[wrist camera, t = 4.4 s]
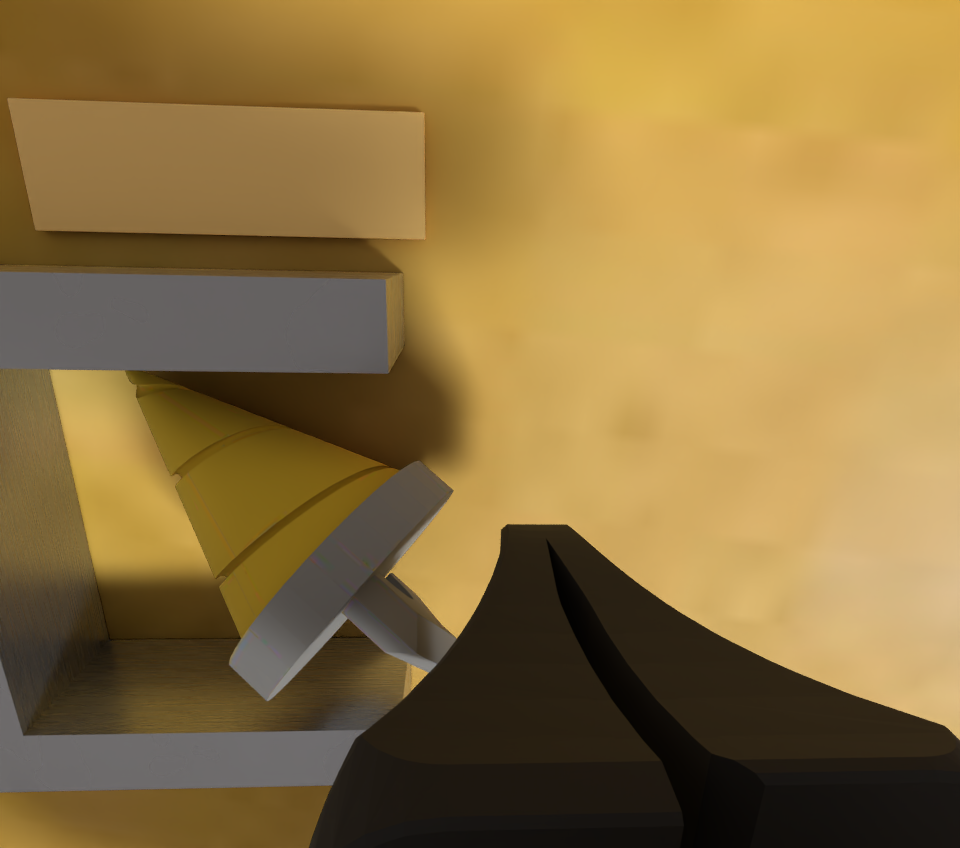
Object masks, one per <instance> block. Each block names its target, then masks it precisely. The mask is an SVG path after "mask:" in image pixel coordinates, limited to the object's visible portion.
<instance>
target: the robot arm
mask: <svg viewBox="0 0 960 848" xmlns="http://www.w3.org/2000/svg"><path fill="white" fill-rule="evenodd" d="M309 848H960V740H959V739H958V738H957V737H956V736H955V735H954V734H953V733H952V732H951V731H950V730H949V729H948V728H946V727H945V726H943V725H940V724H937V723H934V722H931V721H928V720H925V719H922V718H919V717H916V716H913V715H910V714H907V713H904V712H901V711H898V710H895V709H892V708H889V707H887V706H884V705H881V704H878V703H875V702H872V701H869V700H866V699H863V698H860V697H857V696H854V695H851V694H849V693H846V692H843V691H841V690H838V689H836V688H833V687H831V686H828V685H826V684H823V683H821V682H818V681H816V680H813V679H811V678H808V677H806V676H803V675H801V674H798V673H796V672H794V671H792V670H789V669H787V668H785V667H783V666H780V665H778V664H776V663H774V662H771V661H769V660H767V659H765V658H763V657H761V656H759V655H757V654H755V653H753V652H751V651H749V650H747V649H745V648H743V647H741V646H739V645H737V644H735V643H733V642H731V641H729V640H727V639H725V638H723V637H721V636H719V635H718V634H716V633H714V632H712V631H710V630H709V629H707V628H705V627H704V626H702V625H700V624H699V623H697V622H695V621H694V620H692V619H690V618H688V617H687V616H685V615H683V614H682V613H680V612H679V611H677V610H675V609H674V608H672V607H671V606H669V605H668V604H666V603H665V602H663V601H662V600H660V599H659V598H658V597H656V596H655V595H653V594H652V593H651V592H649V591H648V590H646V589H645V588H644V587H642V586H641V585H639V584H638V583H637V582H636V581H634V580H633V579H632V578H630V577H629V576H628V575H626V574H625V573H624V572H623V571H621V570H620V569H619V568H618V567H617V566H615V565H614V564H613V563H612V562H610V561H609V560H608V559H607V558H606V557H605V556H603V555H602V554H601V553H600V552H599V551H598V550H596V549H595V548H594V547H593V546H592V545H591V544H589V543H588V542H587V541H586V540H585V539H584V538H583V537H581V536H580V535H579V534H578V533H577V532H576V531H574V530H573V529H572V528H571V527H569V526H568V525H512V524H507V525H506V526H505V527H504V528H503V529H501V548H500V555H499V558H498V561H497V564H496V567H495V570H494V573H493V575H492V578H491V580H490V582H489V584H488V587H487V589H486V591H485V593H484V595H483V597H482V599H481V601H480V603H479V605H478V607H477V608H476V610H475V612H474V614H473V615H472V617H471V619H470V620H469V622H468V623H467V625H466V626H465V628H464V630H463V631H462V633H461V634H460V635H459V637H458V638H457V639H456V641H455V642H454V643H453V645H452V646H451V647H450V649H449V650H448V651H447V653H446V654H445V655H444V656H443V658H442V659H441V660H440V661H439V662H438V664H437V665H436V666H435V667H434V668H433V669H432V670H431V671H430V672H429V673H428V674H427V675H426V676H425V677H424V679H423V680H422V681H421V682H420V683H419V684H418V685H417V686H416V687H415V688H414V689H413V690H412V691H411V692H410V693H409V694H408V695H407V696H406V697H405V698H404V699H403V700H402V701H401V702H400V703H398V704H397V705H396V706H395V707H394V708H393V709H391V710H390V711H389V712H388V713H387V714H385V715H384V716H383V717H382V718H380V719H379V720H378V721H377V722H376V723H374V724H373V725H372V726H371V727H370V728H368V729H367V730H366V731H365V732H363V733H362V734H360V735H359V736H358V737H357V738H355V740H354V742H353V744H352V746H351V748H350V750H349V752H348V754H347V756H346V758H345V760H344V762H343V764H342V766H341V768H340V770H339V772H338V774H337V776H336V779H335V781H334V783H333V785H332V788H331V790H330V792H329V794H328V797H327V799H326V801H325V804H324V807H323V809H322V812H321V814H320V817H319V820H318V823H317V825H316V828H315V831H314V834H313V836H312V839H311V843H310V846H309Z"/></svg>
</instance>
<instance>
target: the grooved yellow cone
mask: <svg viewBox="0 0 960 848" xmlns="http://www.w3.org/2000/svg"><path fill="white" fill-rule="evenodd" d="M126 374H127V376H128V379H129V381H130V382H131V383H132V384H136V385H137V390H136V398H137V400H138V402H139V404H140V407H141V409H142V411H143V414H144V416H145V418H146V421H147V423H148V425H149V427H150V430H151V432H152V434H153V437H154V439H155V441H156V444H157V446H158V448H159V450H160V453H161V455H162V457H163V460H164V462H165V464H166V467H167V469H168V471H169V473H170V476H173V475H174V474H179V475H180V476H181V477H182V479H181V480H180V481H179V482H178V483H177V484H176V486H175V487H176V490H177V492H178V494H179V497H180V499H181V501H182V503H183V506H184V508H185V510H186V513H187V515H188V517H189V520H190V522H191V524H192V526H193V529H194V531H195V533H196V536H197V538H198V540H199V543H200V545H201V547H202V549H203V552H204V554H205V556H206V559H207V561H208V563H209V566H210V568H211V570H212V572H213V575H214V577H215V579H217V578H218V577H220V576H225V577H227V578H226V579H225V581H224V582H223V583H222V584H221V585H220V587H219V589H220V591H221V593H222V596H223V598H224V600H225V602H226V605H227V607H228V609H229V612H230V614H231V616H232V619H233V621H234V623H235V625H236V628H237V630H238V632H239V635H240V637H241V640H240V642H239V643H238V645H237V646H236V648H235V650H234V652H233V654H232V655H231V657H230V661H229V665H230V666H231V667H232V668H233V669H234V670H235V671H236V672H237V673H238V674H239V675H240V676H241V677H242V678H243V679H244V680H245V681H246V682H247V683H248V684H249V685H250V686H252V687H253V688H254V689H255V690H256V691H257V692H258V693H259V694H260V695H261V696H262V697H263V698H264V699H265V700H266V701H269V700H270V699H272V698H273V697H274V696H275V695H276V694H277V693H278V692H279V691H280V690H281V689H282V688H283V687H284V686H285V685H286V684H287V683H288V682H289V681H290V680H291V679H292V678H293V677H294V676H295V675H296V674H297V673H298V672H299V671H300V670H301V669H302V668H303V667H304V666H305V665H306V664H307V663H308V662H309V661H310V659H311V658H312V657H313V656H314V655H315V654H316V653H317V652H318V651H319V650H320V649H321V648H322V647H323V645H324V644H325V643H326V642H327V641H328V640H329V639H330V638H331V637H332V636H333V635H334V633H335V632H336V631H337V630H338V629H339V628H340V627H341V626H342V625H343V623H344V622H345V621H346V620H347V619H349V620H350V621H351V622H352V623H353V624H354V625H355V626H357V627H358V628H359V629H360V630H361V631H362V632H363V633H364V634H365V635H366V636H367V637H369V638H370V639H371V640H372V641H373V642H374V643H375V644H376V645H377V646H378V647H379V648H380V649H382V650H383V651H384V652H385V653H387V654H389V655H392V656H394V657H396V658H398V659H400V660H403V661H405V662H407V663H409V664H411V665H414V666H416V667H418V668H420V669H422V670H425V671H427V672H430V671H431V670H432V669H433V668H434V667H435V666H436V665H437V664H438V662H439V661H440V660H441V659H442V658H443V656H444V655H445V654H446V653H447V651H448V650H449V649H450V647H451V646H452V645H453V643H454V642H455V641H456V637H455V636H453V635H452V634H451V633H450V632H449V631H448V630H447V629H446V628H445V627H443V626H442V625H441V624H440V622H439V621H438V620H437V619H436V618H435V616H434V615H433V614H432V613H431V611H430V610H429V609H428V608H427V607H426V605H425V604H424V603H423V602H422V601H421V599H420V598H419V597H418V596H417V595H416V594H415V593H414V592H413V591H412V590H411V589H410V588H408V587H407V586H406V585H405V584H404V583H403V582H402V581H401V580H400V579H398V578H397V577H396V576H395V575H394V574H393V573H390V574H389V575H388V576H387V577H386V578H384V577H385V576H386V575H387V573H388V572H389V571H390V570H391V569H392V568H393V567H394V565H395V564H396V563H397V562H398V561H399V559H400V558H401V557H402V556H403V555H404V554H405V552H406V551H407V550H408V549H409V548H410V546H411V545H412V544H413V543H414V542H415V540H416V539H417V538H418V537H419V536H420V534H421V533H422V532H423V531H424V530H425V528H426V527H427V526H428V525H429V523H430V522H431V521H432V520H433V518H434V517H435V516H436V515H437V513H438V512H439V511H440V510H441V508H442V507H443V506H444V504H445V503H446V502H447V500H448V499H449V497H450V496H451V494H452V492H453V490H452V489H451V488H450V487H449V486H448V485H447V484H446V483H444V482H443V481H442V480H441V479H440V478H439V477H437V476H436V475H435V474H434V473H433V472H432V471H431V470H429V469H428V468H427V467H426V466H425V465H424V464H423V463H421V462H420V461H415V462H413V463H411V464H409V465H407V466H406V467H404V468H403V469H401V470H398V469H394V468H392V467H390V466H387V465H385V464H382V463H380V462H377V461H374V460H372V459H369V458H367V457H364V456H361V455H359V454H356V453H354V452H351V451H349V450H346V449H343V448H341V447H338V446H336V445H333V444H331V443H328V442H325V441H323V440H320V439H318V438H315V437H312V436H310V435H307V434H305V433H302V432H300V431H297V430H293V429H291V428H289V427H287V426H284V425H281V424H279V423H276V422H274V421H271V420H269V419H266V418H263V417H261V416H258V415H256V414H253V413H250V412H248V411H245V410H243V409H240V408H238V407H235V406H232V405H230V404H227V403H225V402H222V401H220V400H217V399H214V398H212V397H209V396H207V395H204V394H201V393H199V392H196V391H192V390H191V389H188V388H186V387H183V386H181V385H178V384H176V383H173V382H170V381H168V380H165V379H163V378H160V377H158V376H155V375H152V374H150V373H147V372H144V371H140V370H126Z"/></svg>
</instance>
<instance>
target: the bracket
mask: <svg viewBox="0 0 960 848" xmlns="http://www.w3.org/2000/svg"><path fill="white" fill-rule="evenodd" d="M403 347H404V297H403V273H385V272H338V271H290V270H243V269H195V268H148V267H100V266H52V265H5V264H0V792H43V791H91V790H138V789H186V788H233V787H281V786H328V785H333V783H334V781H335V779H336V776H337V774H338V772H339V770H340V768H341V766H342V764H343V762H344V760H345V758H346V756H347V754H348V752H349V750H350V748H351V746H352V744H353V742H354V740H355V738H357V737H358V736H359V735H360V734H362V733H363V732H365V731H366V730H367V729H368V728H370V727H371V726H372V725H373V724H374V723H376V722H377V721H378V720H379V719H380V718H382V717H383V716H384V715H385V714H387V713H388V712H389V711H390V710H391V709H393V708H394V707H395V706H396V705H397V704H398V703H400V702H401V701H402V700H403V699H404V698H405V697H406V696H407V695H408V694H409V693H410V692H411V664H409V663H407V662H405V661H403V660H400V659H398V658H396V657H394V656H392V655H389V654H387V653H385V652H384V651H383V650H382V649H380V648H379V647H378V646H377V645H376V644H375V643H374V642H373V641H372V640H371V639H370V638H330V639H329V640H328V641H327V642H326V643H325V644H324V645H323V647H322V648H321V649H320V650H319V651H318V652H317V653H316V654H315V655H314V656H313V657H312V658H311V659H310V661H309V662H308V663H307V664H306V665H305V666H304V667H303V668H302V669H301V670H300V671H299V672H298V673H297V674H296V675H295V676H294V677H293V678H292V679H291V680H290V681H289V682H288V683H287V684H286V685H285V686H284V687H283V688H282V689H281V690H280V691H279V692H278V693H277V694H276V695H275V696H274V697H273V698H272V699H270V700H269V701H266V700H265V699H264V698H263V697H262V696H261V695H260V694H259V693H258V692H257V691H256V690H255V689H254V688H253V687H252V686H250V685H249V684H248V683H247V682H246V681H245V680H244V679H243V678H242V677H241V676H240V675H239V674H238V673H237V672H236V671H235V670H234V669H233V668H232V667H231V666H230V665H229V661H230V657H231V655H232V654H233V652H234V650H235V648H236V646H237V645H238V643H239V642H240V640H241V639H146V640H109V636H108V632H107V627H106V623H105V619H104V614H103V610H102V605H101V601H100V596H99V592H98V587H97V583H96V578H95V574H94V569H93V565H92V560H91V556H90V551H89V547H88V542H87V538H86V534H85V529H84V525H83V520H82V516H81V511H80V507H79V502H78V498H77V493H76V489H75V484H74V480H73V475H72V471H71V466H70V462H69V458H68V453H67V449H66V444H65V440H64V435H63V431H62V426H61V422H60V417H59V413H58V408H57V404H56V399H55V395H54V390H53V386H52V382H51V377H50V373H49V369H61V370H140V371H218V372H297V373H376V374H389V372H390V370H391V369H392V367H393V365H394V363H395V361H396V360H397V358H398V356H399V354H400V353H401V351H402V349H403Z"/></svg>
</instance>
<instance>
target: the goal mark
mask: <svg viewBox="0 0 960 848" xmlns="http://www.w3.org/2000/svg"><path fill="white" fill-rule="evenodd" d="M7 101H8V105H9V110H10V115H11V119H12V124H13V129H14V133H15V138H16V143H17V147H18V152H19V157H20V161H21V166H22V171H23V175H24V180H25V185H26V189H27V194H28V199H29V203H30V208H31V213H32V217H33V222H34V227H35V230H40V231H79V232H121V233H163V234H205V235H247V236H289V237H331V238H373V239H415V240H426V232H425V115H424V112H402V111H373V110H343V109H314V108H285V107H256V106H227V105H198V104H168V103H139V102H110V101H81V100H52V99H23V98H7Z"/></svg>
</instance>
